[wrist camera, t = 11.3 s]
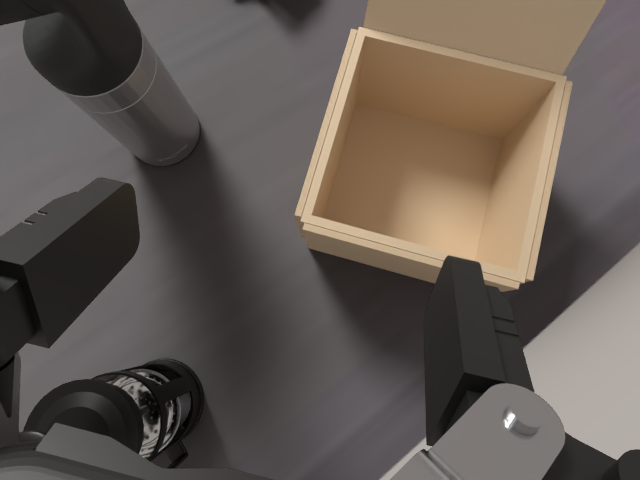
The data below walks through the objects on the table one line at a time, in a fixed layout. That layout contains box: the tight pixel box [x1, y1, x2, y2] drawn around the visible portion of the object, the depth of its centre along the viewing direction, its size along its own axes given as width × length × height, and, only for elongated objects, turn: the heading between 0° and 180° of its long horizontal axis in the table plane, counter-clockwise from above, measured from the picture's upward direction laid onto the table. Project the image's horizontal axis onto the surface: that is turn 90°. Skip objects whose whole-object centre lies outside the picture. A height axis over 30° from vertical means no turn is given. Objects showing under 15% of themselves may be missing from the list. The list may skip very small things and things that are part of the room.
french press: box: [19, 359, 204, 469], centre depth 38 cm, size 12×9×23 cm
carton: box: [295, 27, 573, 292], centre depth 47 cm, size 21×21×14 cm
